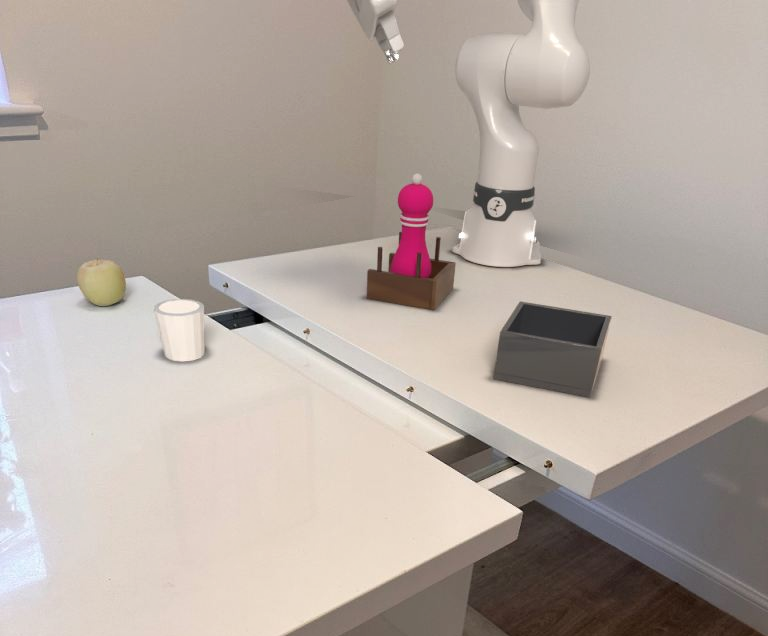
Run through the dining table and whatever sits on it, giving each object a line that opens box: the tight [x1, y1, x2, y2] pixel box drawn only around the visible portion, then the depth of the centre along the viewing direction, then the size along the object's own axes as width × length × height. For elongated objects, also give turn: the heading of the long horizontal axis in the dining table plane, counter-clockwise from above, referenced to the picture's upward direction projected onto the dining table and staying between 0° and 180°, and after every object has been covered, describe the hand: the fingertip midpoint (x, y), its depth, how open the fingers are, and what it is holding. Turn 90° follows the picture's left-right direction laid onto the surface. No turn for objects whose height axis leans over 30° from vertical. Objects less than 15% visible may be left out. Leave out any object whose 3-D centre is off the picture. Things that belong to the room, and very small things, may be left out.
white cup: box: [153, 298, 206, 362], centre depth 102 cm, size 7×7×7 cm
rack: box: [366, 231, 457, 311], centre depth 127 cm, size 12×12×9 cm
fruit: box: [76, 254, 127, 307], centre depth 117 cm, size 8×7×8 cm
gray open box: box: [493, 301, 612, 398], centre depth 103 cm, size 14×14×7 cm
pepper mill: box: [391, 173, 434, 278], centre depth 124 cm, size 7×7×20 cm
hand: (396, 56), depth 109 cm, fingers open, 8 cm apart
